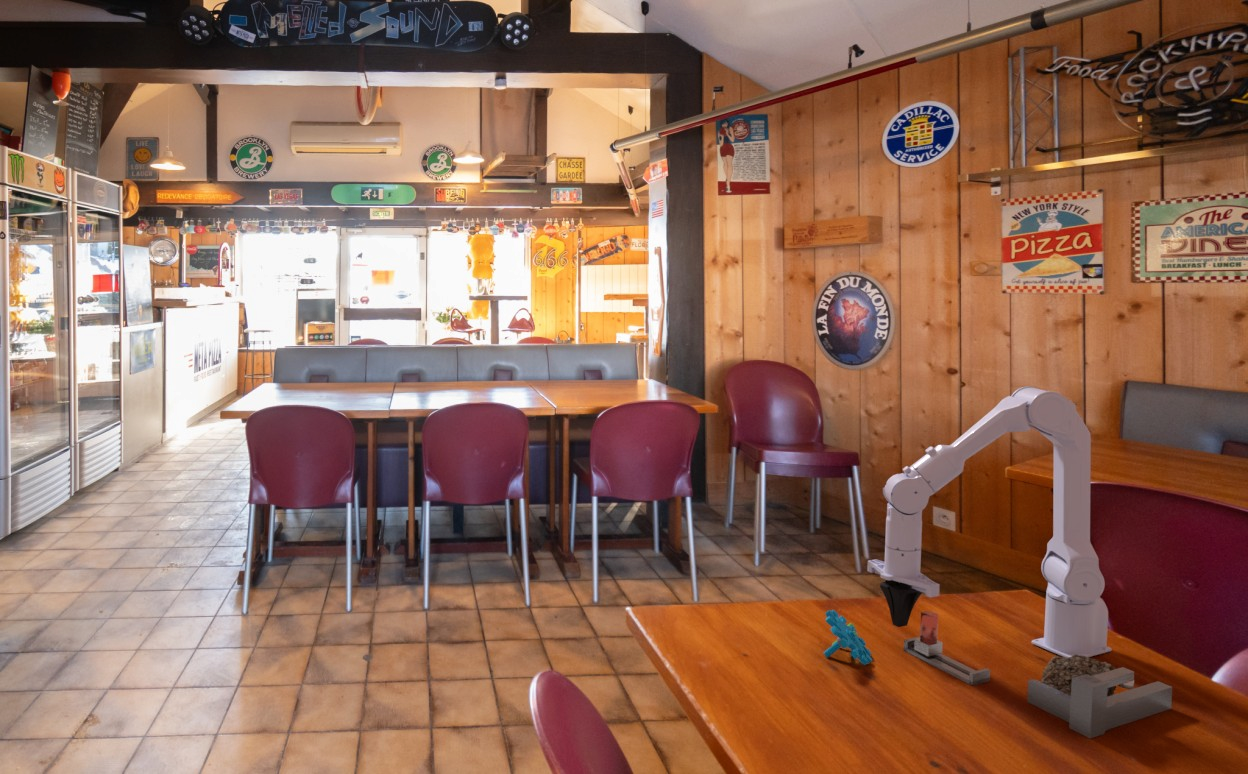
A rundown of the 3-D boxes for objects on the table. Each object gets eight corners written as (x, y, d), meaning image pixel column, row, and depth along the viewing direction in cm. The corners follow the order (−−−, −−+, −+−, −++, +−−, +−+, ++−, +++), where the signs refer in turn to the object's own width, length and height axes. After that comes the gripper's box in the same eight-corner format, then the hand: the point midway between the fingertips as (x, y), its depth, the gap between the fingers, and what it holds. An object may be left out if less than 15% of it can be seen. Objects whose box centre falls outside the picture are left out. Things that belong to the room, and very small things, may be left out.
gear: (871, 667, 125) (826, 613, 128) (842, 689, 127) (798, 636, 130) (879, 649, 135) (837, 600, 138) (852, 670, 137) (811, 621, 140)
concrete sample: (1062, 676, 126) (1064, 644, 126) (1132, 702, 118) (1134, 668, 117) (1020, 695, 120) (1021, 661, 120) (1090, 724, 112) (1092, 688, 111)
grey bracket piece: (1103, 679, 125) (1106, 635, 124) (1174, 710, 115) (1177, 662, 114) (1021, 703, 117) (1023, 656, 116) (1089, 738, 108) (1093, 687, 107)
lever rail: (920, 646, 137) (920, 636, 136) (989, 681, 124) (990, 669, 124) (903, 650, 135) (904, 639, 135) (972, 685, 123) (972, 674, 122)
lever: (928, 646, 135) (929, 609, 134) (942, 653, 132) (943, 616, 131) (914, 649, 133) (915, 612, 133) (928, 656, 131) (929, 618, 130)
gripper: (854, 538, 142) (852, 613, 143) (917, 561, 129) (914, 644, 130) (886, 533, 145) (883, 607, 146) (950, 556, 132) (946, 637, 133)
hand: (899, 624), depth 138 cm, fingers closed
